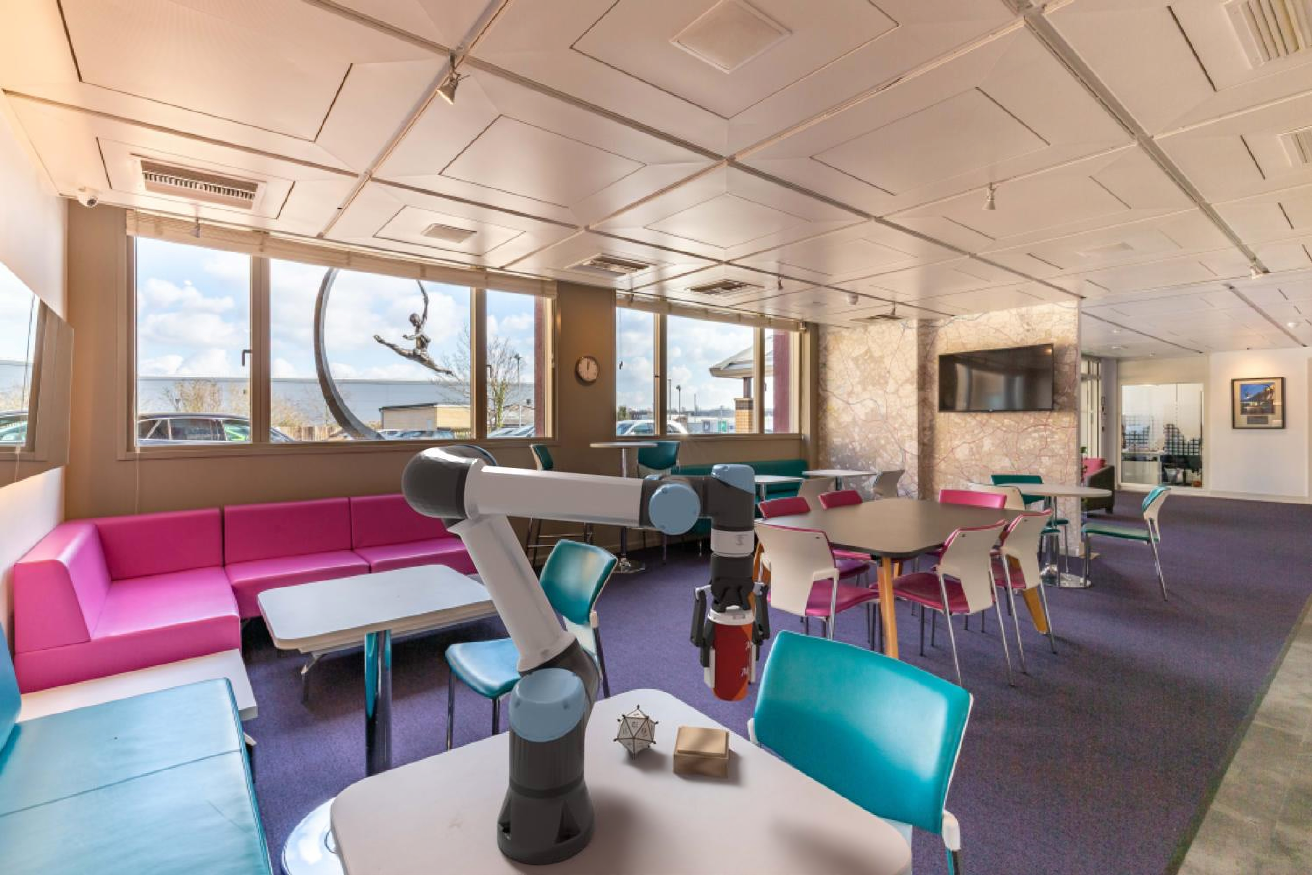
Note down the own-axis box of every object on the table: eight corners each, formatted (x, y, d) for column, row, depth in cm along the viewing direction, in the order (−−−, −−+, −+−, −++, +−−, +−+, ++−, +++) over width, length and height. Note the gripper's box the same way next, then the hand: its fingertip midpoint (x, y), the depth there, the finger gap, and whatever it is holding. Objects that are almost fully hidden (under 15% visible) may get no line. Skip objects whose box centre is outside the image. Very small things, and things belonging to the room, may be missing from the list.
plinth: (673, 772, 112) (673, 750, 111) (678, 743, 121) (678, 724, 121) (727, 777, 110) (728, 755, 110) (728, 748, 120) (729, 728, 120)
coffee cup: (761, 701, 104) (762, 614, 103) (715, 706, 102) (717, 618, 101) (741, 681, 112) (743, 600, 111) (699, 685, 110) (701, 603, 109)
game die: (633, 764, 121) (637, 710, 126) (665, 762, 116) (669, 707, 122) (601, 756, 115) (607, 700, 121) (634, 754, 111) (639, 696, 116)
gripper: (687, 560, 99) (684, 698, 100) (793, 553, 106) (790, 683, 106) (671, 550, 106) (668, 679, 107) (772, 545, 113) (769, 666, 113)
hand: (729, 681), depth 107 cm, fingers closed on coffee cup, 7 cm apart
